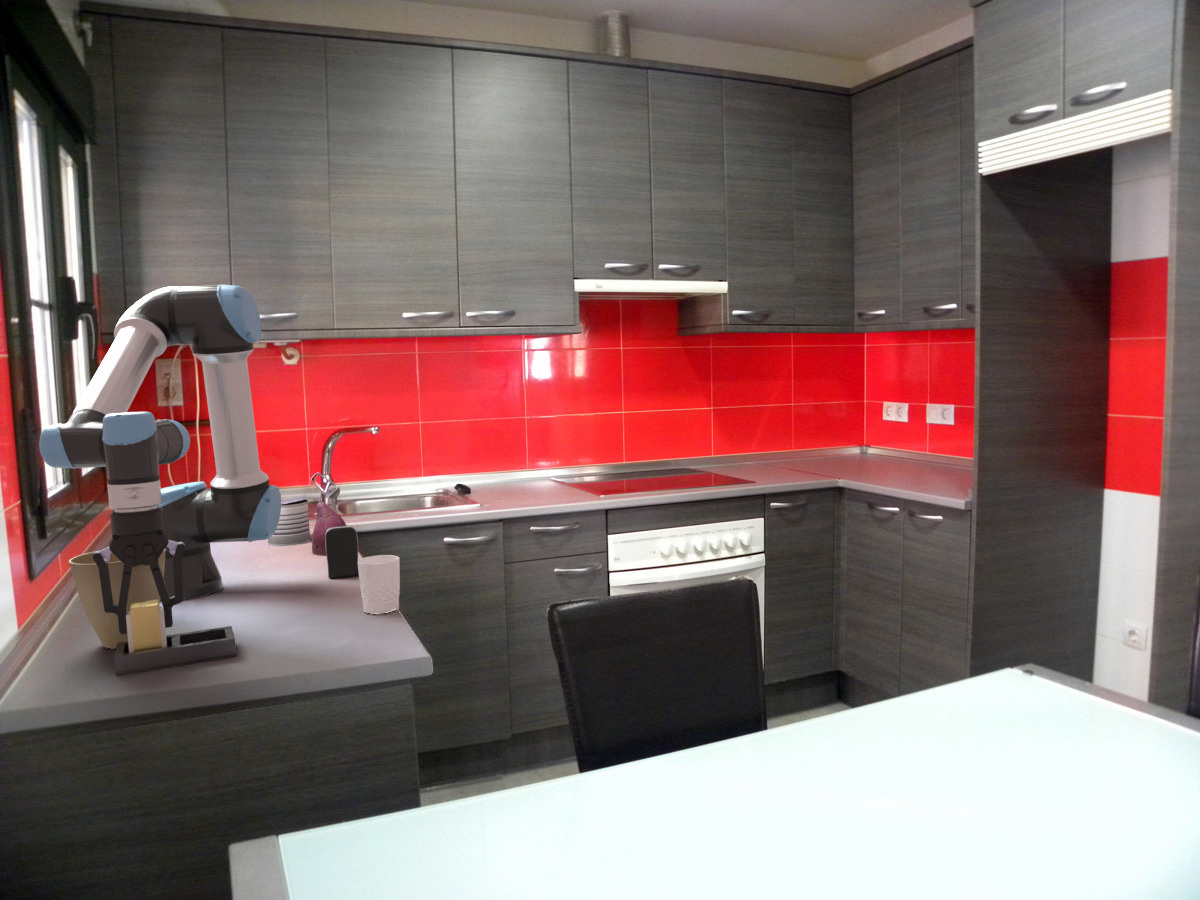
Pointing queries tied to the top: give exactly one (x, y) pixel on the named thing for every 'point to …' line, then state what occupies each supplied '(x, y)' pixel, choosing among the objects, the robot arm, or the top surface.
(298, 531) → the can
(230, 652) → the divided tray
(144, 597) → the plant pot
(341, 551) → the battery charger
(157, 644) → the brass block
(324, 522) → the vegetable
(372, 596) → the white cup
